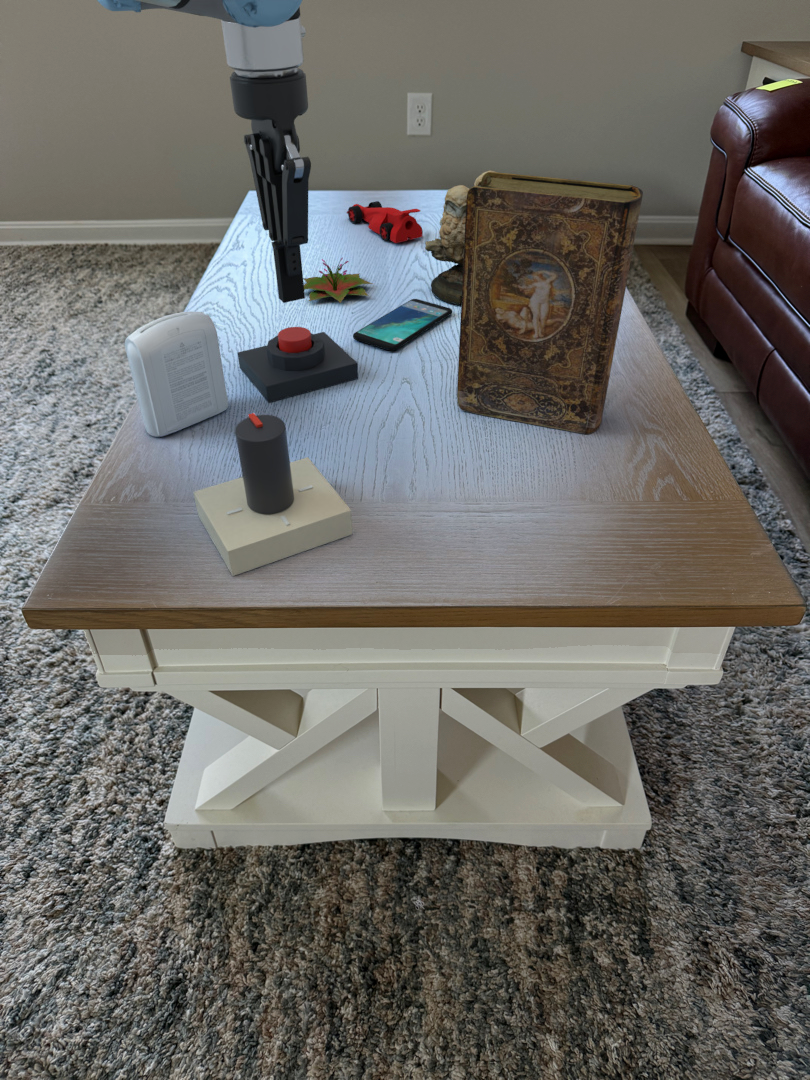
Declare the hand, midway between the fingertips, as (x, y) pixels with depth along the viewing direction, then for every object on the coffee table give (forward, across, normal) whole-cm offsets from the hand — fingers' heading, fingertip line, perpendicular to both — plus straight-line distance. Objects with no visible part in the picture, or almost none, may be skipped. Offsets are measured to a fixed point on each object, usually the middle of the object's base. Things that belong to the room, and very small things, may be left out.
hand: (291, 298), depth 93 cm
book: (+10, -22, -20) cm, 31 cm away
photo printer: (+10, -4, +16) cm, 19 cm away
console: (+10, -27, +14) cm, 32 cm away
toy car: (+10, +42, -34) cm, 55 cm away
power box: (+10, 0, 0) cm, 10 cm away
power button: (+6, 0, 0) cm, 6 cm away
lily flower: (+10, +21, -15) cm, 27 cm away
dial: (+7, -27, +14) cm, 31 cm away
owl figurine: (+10, +9, -34) cm, 36 cm away
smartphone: (+10, +5, -18) cm, 21 cm away
